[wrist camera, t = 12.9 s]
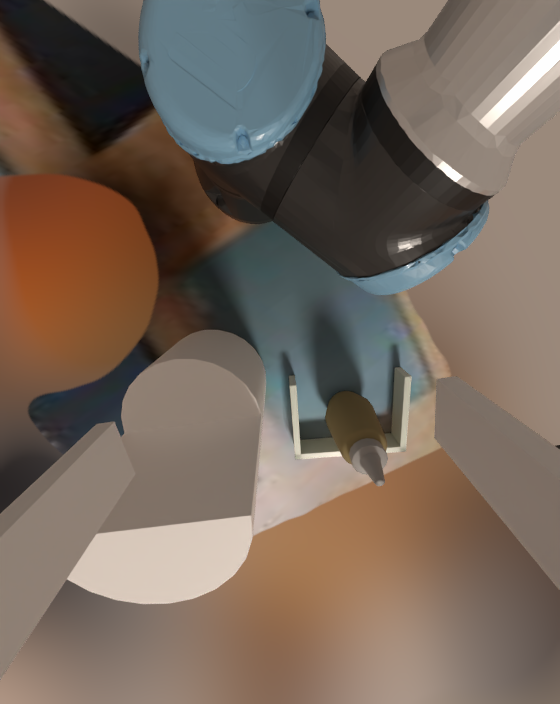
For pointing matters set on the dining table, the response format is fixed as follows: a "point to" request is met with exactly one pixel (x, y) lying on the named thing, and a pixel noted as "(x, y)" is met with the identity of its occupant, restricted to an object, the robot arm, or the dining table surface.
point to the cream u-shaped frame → (328, 445)
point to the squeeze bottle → (358, 434)
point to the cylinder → (183, 475)
